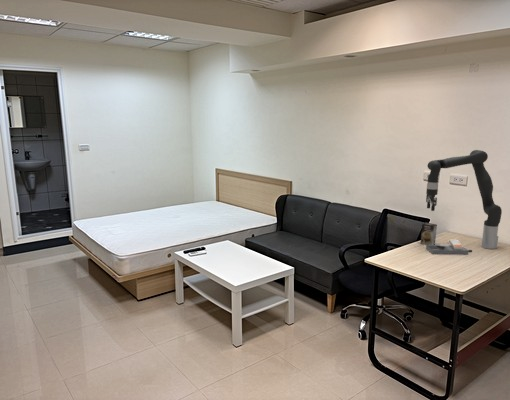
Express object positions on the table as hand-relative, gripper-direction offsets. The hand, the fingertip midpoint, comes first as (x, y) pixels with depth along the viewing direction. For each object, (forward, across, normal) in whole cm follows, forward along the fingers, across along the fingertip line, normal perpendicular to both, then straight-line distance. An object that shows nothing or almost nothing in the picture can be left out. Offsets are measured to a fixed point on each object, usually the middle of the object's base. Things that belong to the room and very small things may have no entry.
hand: (430, 209), depth 288 cm
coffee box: (+29, +7, -3) cm, 30 cm away
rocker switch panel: (+29, -11, -12) cm, 33 cm away
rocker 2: (+24, -11, -16) cm, 30 cm away
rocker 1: (+24, -11, -6) cm, 27 cm away
